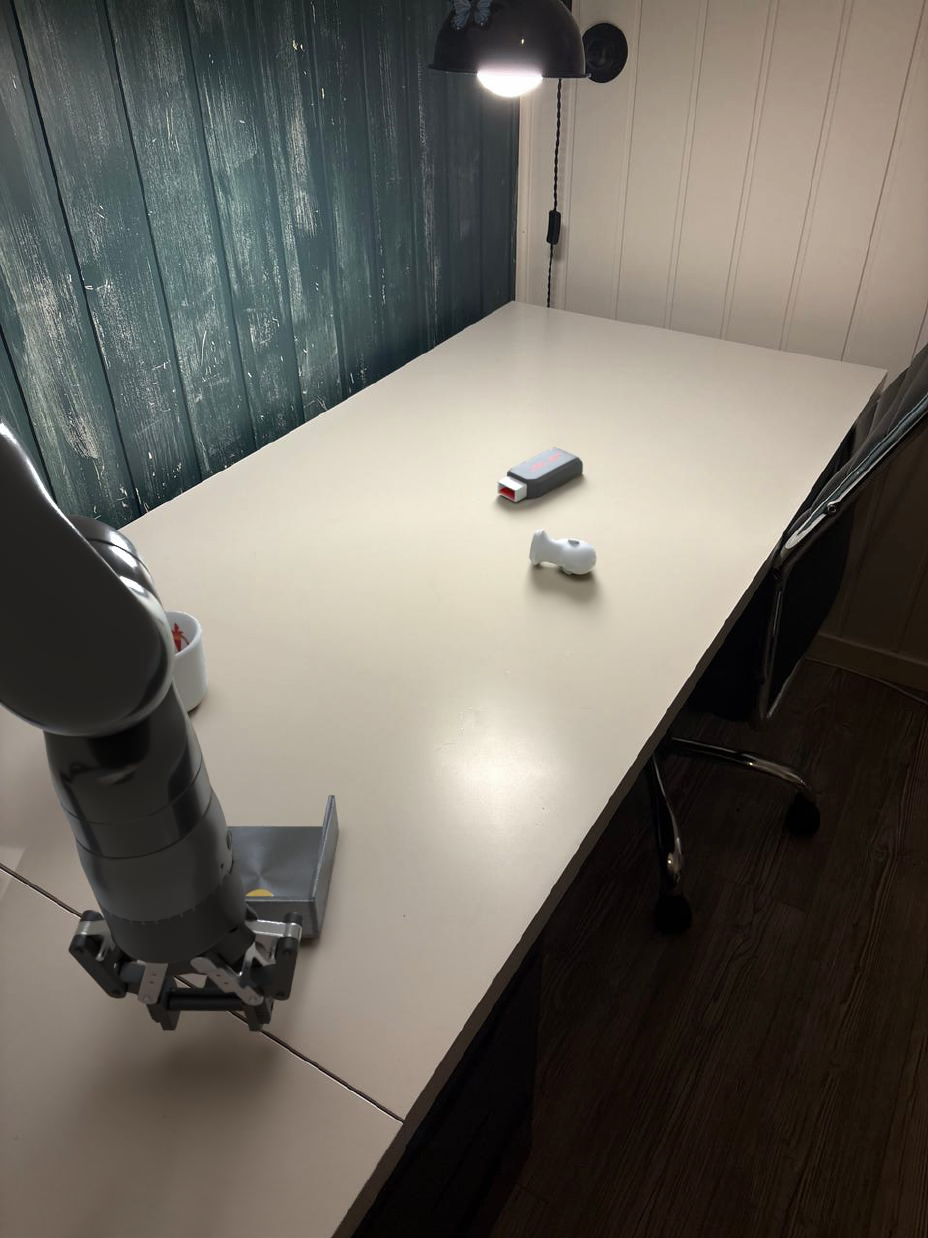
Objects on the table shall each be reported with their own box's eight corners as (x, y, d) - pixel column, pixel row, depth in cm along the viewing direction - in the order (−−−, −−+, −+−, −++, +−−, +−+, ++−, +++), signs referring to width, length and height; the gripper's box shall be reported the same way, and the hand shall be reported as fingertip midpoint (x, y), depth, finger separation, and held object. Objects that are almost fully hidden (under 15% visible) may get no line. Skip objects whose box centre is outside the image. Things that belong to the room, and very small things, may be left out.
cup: (92, 715, 89) (68, 652, 84) (134, 662, 95) (114, 600, 90) (194, 732, 86) (175, 669, 81) (230, 677, 92) (215, 615, 87)
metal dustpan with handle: (134, 1046, 61) (119, 1002, 58) (209, 830, 77) (200, 788, 75) (299, 1047, 60) (291, 1002, 58) (339, 830, 77) (334, 788, 75)
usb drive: (582, 473, 123) (584, 454, 122) (521, 506, 117) (521, 487, 115) (553, 459, 126) (554, 441, 125) (492, 491, 120) (492, 473, 118)
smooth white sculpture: (599, 574, 107) (583, 585, 103) (538, 554, 110) (520, 564, 106) (607, 540, 105) (591, 549, 101) (545, 520, 108) (527, 529, 104)
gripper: (3, 917, 47) (90, 1074, 58) (279, 919, 47) (316, 1076, 58) (56, 804, 53) (127, 965, 64) (302, 805, 53) (332, 967, 63)
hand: (216, 1017), depth 61 cm, fingers closed on metal dustpan with handle, 5 cm apart
